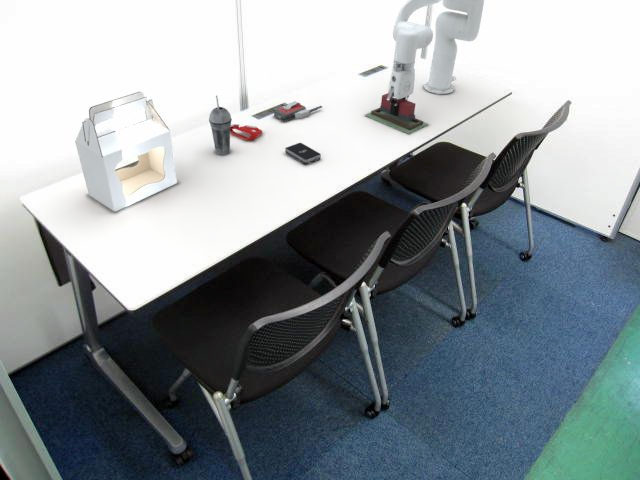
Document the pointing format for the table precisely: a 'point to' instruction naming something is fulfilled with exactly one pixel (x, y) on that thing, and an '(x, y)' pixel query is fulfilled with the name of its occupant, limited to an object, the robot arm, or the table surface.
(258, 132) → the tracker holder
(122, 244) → the table surface
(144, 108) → the gable box
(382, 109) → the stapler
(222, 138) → the beverage cup
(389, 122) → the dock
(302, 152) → the external hard drive
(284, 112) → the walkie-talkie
